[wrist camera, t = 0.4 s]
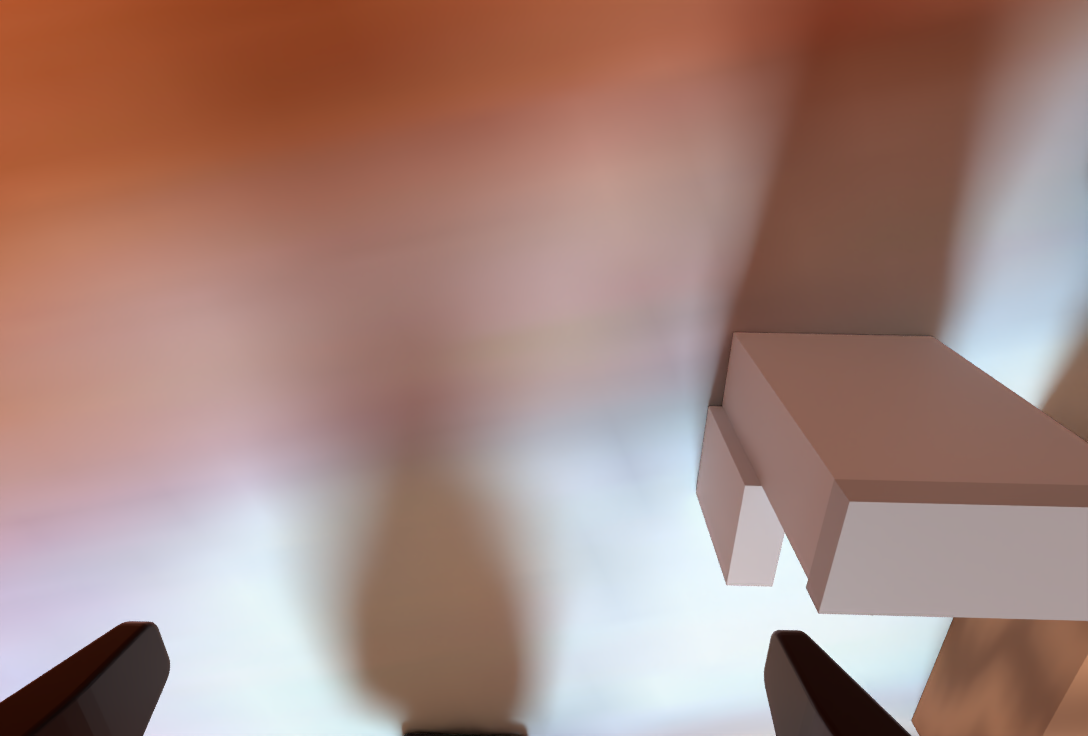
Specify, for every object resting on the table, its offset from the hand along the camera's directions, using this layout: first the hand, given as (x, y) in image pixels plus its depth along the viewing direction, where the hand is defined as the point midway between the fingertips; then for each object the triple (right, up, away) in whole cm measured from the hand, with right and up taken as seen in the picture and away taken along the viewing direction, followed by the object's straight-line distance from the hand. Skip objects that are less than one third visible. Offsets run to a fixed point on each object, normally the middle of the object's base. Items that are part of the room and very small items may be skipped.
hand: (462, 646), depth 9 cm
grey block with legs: (+11, +2, +14) cm, 18 cm away
